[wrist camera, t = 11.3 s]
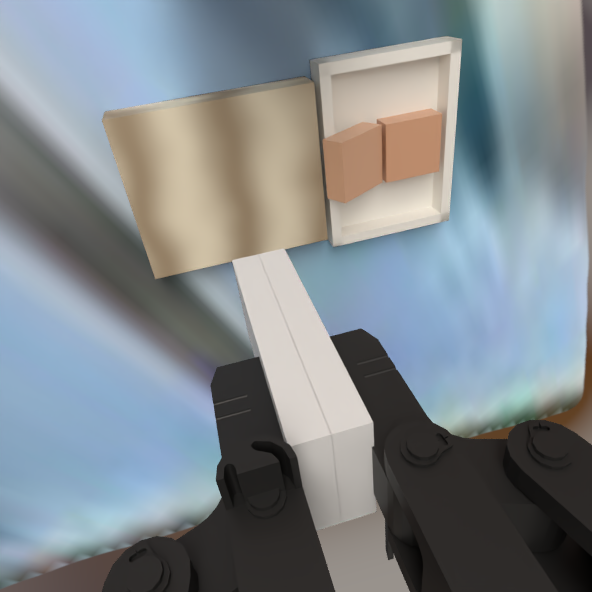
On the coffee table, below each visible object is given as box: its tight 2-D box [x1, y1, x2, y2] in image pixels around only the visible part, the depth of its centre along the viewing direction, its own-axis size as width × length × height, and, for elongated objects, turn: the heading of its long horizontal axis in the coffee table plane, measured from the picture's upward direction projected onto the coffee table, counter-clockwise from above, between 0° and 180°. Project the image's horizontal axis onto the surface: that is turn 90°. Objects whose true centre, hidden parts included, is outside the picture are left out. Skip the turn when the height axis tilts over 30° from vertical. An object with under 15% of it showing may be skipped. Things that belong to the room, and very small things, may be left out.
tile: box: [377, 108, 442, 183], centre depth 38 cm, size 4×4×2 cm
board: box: [102, 76, 328, 279], centre depth 36 cm, size 14×12×2 cm
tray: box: [310, 36, 462, 247], centre depth 38 cm, size 10×14×2 cm
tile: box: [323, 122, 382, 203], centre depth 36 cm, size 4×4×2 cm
